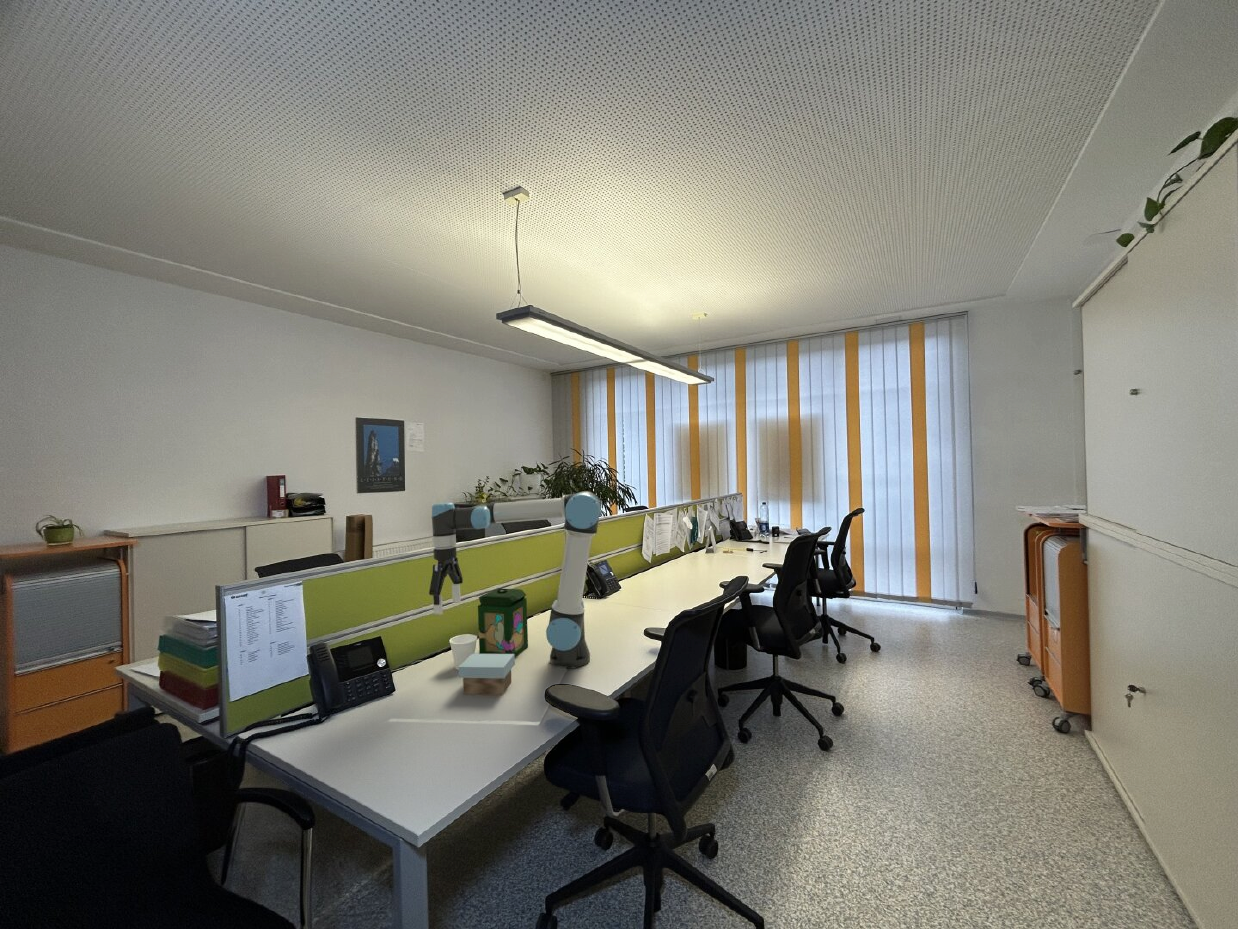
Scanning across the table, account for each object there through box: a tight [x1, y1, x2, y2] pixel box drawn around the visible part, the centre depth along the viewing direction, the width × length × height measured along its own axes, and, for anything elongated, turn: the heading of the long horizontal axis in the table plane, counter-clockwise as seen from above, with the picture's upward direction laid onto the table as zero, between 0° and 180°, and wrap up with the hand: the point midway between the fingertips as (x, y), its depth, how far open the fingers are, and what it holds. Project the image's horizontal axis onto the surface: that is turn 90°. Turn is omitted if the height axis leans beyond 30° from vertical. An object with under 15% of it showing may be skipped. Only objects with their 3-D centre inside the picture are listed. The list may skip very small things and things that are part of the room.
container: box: [477, 587, 529, 658], centre depth 196 cm, size 15×18×25 cm
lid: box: [458, 653, 516, 679], centre depth 163 cm, size 15×11×4 cm
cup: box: [449, 633, 478, 671], centre depth 182 cm, size 10×10×11 cm
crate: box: [462, 669, 513, 696], centre depth 163 cm, size 13×9×9 cm
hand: (447, 608), depth 172 cm, fingers open, 13 cm apart
